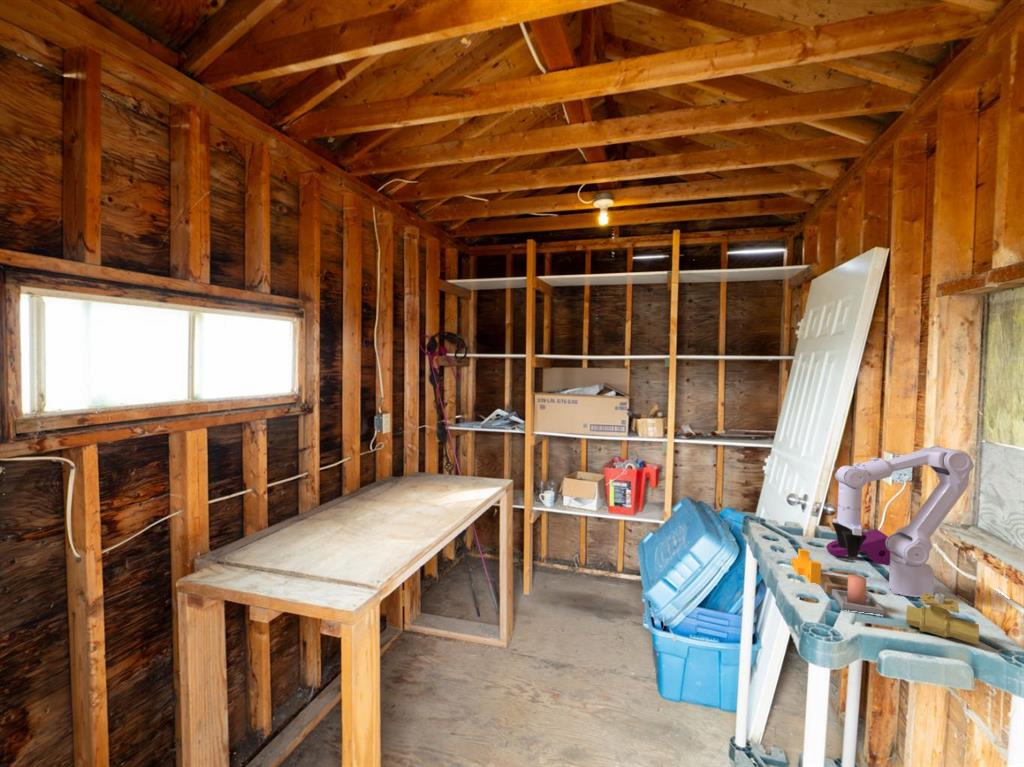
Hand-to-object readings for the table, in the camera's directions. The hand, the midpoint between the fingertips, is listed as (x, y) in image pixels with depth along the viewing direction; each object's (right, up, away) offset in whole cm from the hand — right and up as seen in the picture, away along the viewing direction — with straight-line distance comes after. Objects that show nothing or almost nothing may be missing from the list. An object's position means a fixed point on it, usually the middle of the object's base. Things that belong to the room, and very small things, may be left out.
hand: (847, 551), depth 138 cm
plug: (-7, -9, -13) cm, 18 cm away
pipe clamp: (-9, -10, +6) cm, 15 cm away
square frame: (-5, -10, -4) cm, 11 cm away
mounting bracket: (+21, -11, +23) cm, 33 cm away
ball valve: (+4, -11, -26) cm, 28 cm away
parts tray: (-7, -10, -13) cm, 18 cm away
